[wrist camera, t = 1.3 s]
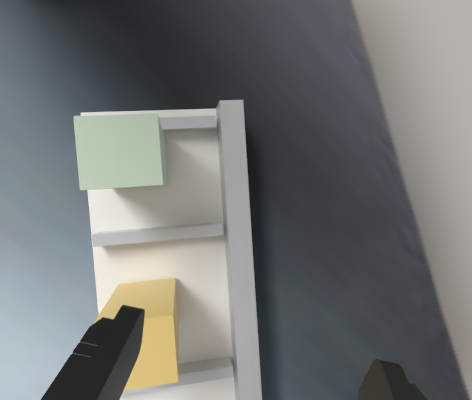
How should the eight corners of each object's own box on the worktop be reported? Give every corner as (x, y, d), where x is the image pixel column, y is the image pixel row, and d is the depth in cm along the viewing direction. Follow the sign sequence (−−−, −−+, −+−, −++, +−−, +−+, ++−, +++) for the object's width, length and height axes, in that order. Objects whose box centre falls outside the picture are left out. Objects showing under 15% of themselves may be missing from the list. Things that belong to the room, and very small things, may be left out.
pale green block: (110, 188, 29) (80, 190, 21) (106, 137, 29) (73, 116, 20) (168, 185, 30) (163, 184, 21) (164, 134, 30) (157, 113, 21)
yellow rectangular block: (122, 333, 30) (98, 394, 21) (118, 283, 30) (92, 325, 21) (179, 325, 31) (178, 382, 22) (175, 277, 31) (173, 315, 22)
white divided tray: (116, 486, 32) (107, 528, 28) (84, 115, 30) (69, 104, 26) (259, 457, 34) (270, 493, 30) (237, 110, 32) (245, 99, 28)
